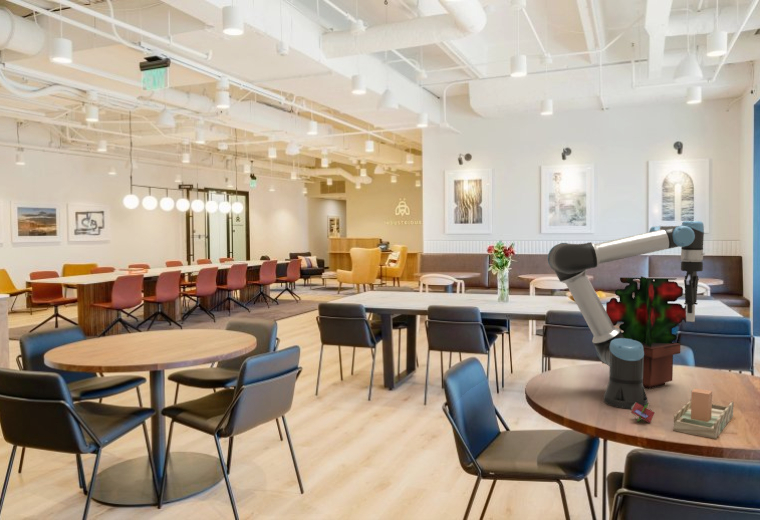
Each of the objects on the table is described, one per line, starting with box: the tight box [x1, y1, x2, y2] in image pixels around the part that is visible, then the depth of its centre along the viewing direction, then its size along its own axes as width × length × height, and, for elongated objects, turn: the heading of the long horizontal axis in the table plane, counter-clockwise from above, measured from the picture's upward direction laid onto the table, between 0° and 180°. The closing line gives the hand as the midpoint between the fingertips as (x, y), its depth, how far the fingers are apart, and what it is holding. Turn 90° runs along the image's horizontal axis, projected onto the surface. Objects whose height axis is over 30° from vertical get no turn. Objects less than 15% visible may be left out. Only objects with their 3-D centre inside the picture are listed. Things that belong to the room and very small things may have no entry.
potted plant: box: [605, 276, 687, 390], centre depth 245 cm, size 22×22×45 cm
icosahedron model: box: [630, 402, 656, 424], centre depth 196 cm, size 7×7×8 cm
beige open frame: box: [672, 399, 734, 440], centre depth 195 cm, size 30×12×5 cm, turn 140°
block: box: [690, 388, 713, 422], centre depth 191 cm, size 5×5×9 cm
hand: (690, 321), depth 227 cm, fingers closed
